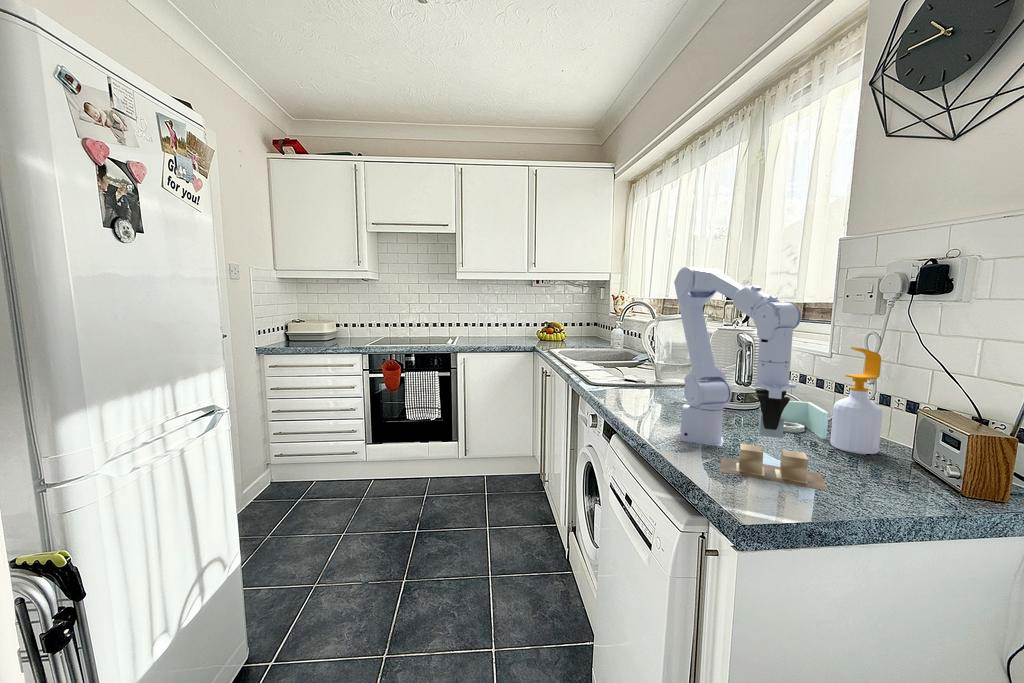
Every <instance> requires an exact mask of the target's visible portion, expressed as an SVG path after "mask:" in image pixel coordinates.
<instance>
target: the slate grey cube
mask: <svg viewBox="0 0 1024 683" xmlns="http://www.w3.org/2000/svg"><path fill="white" fill-rule="evenodd" d="M758 418H759V419H758V434H759V436H761V437H762V436H763V437H764V436H765V437H770V438H777V439H778V438H779V439H783V438H784V431H783V428H784V417H783V415H781V418H780V421H779V424H778V427H777V429H776V430H772V429H765V428H764V424H763V416H762V412H761V411H759V417H758Z"/></svg>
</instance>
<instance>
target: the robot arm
mask: <svg viewBox="0 0 1024 683" xmlns="http://www.w3.org/2000/svg"><path fill="white" fill-rule="evenodd" d="M673 283H674V289H675V293H676V297H677V299H676V300H677V302H678V308H679V313H680V317H681V322H682V327H683V332H684V333H683V334H684V336H685V342H686V346H687V351H688V352H687V353H688V358H689V361H690V365H691V370H690V371H689V372H688V373H687V375H685V376H684V378H683V380H684V390H683V391H684V392H683V394H684V398H685V400H686V402H687V403H688V404H683V405H682V410H681V420H680V426H679V427H680V430H679V431H680V439H679V440H680V441H682V442H691V443H696V444H702V445H709V446H717V447H723V445H724V444H723V443H724V437H723V436H722V432H723V418H724V416H723V415H724V414H723V413H724V409H725V408H727V404H728V403H729V402H731V400H732V395H733V391H732V387H731V385H730V383H729V382H728V380H727V376H726V373H725V372H724V371H722V370H720V368H718V367H717V366H716V365H715V360H714V356H713V350H712V347H711V342H710V338H709V333H708V328H707V324H706V323H707V322H706V319H705V314H704V310H703V307H704V305H705V304H707V303H709V302H710V300H711V299H712V298H713V297H714V295H716V293H718V294H719V293H720V294H721V295H723V296H724V297H727V298H729V299H731V300H733V306H734V308H735V309H737V310H738V311H740V312H741V313H743V314H745V315H746V316H747V317H749V318H751V319H752V320H753V324H754V326H755V327H756V331H757V332H756V336H757V338H758V339H759V340H758V350H757V352H758V353H757V363H756V364H757V368H756V380H755V382H754V385H755V386H757V388H754V391H755V393H756V397H757V400H758V402H759V404H760V405H759V406H760V412H762V416H763V424H764V428H765V429H772V430H776V429H777V427H778V424H779V421H780V418H781V415H782V412H783V410H784V408H785V406H786V405H787V404H788V402H789V401H791V398H790V397H789V396H786V394H787V391H786V390H789V389H796V388H797V384H796V383H794V382H790V373H791V372H790V371H791V359H792V358H791V357H792V346H793V344H792V343H793V334H794V333H793V332H794V329H796V328H797V327H798V326H799V325H800V323H801V320H802V313H801V310H800V308H799V306H797V304H796V303H794V302H793V301H783V302H781V301H780V300H779V298H778V296H776V295H769V294H768V293H766V292H764V291H763V290H762V287H761V286H759V285H747V286H742V285H741V284H739V283H738V282H736V280H733V279H732V278H731V277H729V276H728V275H726V274H725V272H724V271H723V270H721V269H718V268H716V267H711V268H706V267H705V268H704V267H689V266H685V267H681V268H680V269H679V270H678V272H677V275H676V277H675V279H674V281H673ZM758 387H759V388H758Z"/></svg>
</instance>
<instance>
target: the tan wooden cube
mask: <svg viewBox="0 0 1024 683" xmlns="http://www.w3.org/2000/svg"><path fill="white" fill-rule="evenodd" d="M808 464H809V458H808V456H807V454H806V453H805V452H801V451H794V450H793V451H792V450H788V449H781V453H780V464H779V465H780V466H779V467H780V473H781V477H782V478H785V479H791V480H797V481H803V482H806V481H807V471H808V467H809V466H808Z"/></svg>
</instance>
